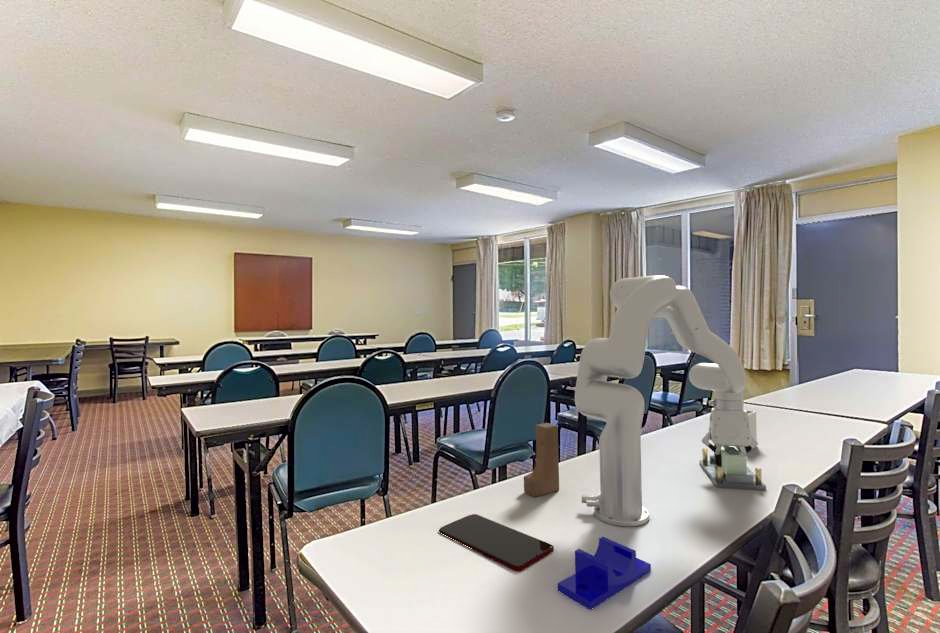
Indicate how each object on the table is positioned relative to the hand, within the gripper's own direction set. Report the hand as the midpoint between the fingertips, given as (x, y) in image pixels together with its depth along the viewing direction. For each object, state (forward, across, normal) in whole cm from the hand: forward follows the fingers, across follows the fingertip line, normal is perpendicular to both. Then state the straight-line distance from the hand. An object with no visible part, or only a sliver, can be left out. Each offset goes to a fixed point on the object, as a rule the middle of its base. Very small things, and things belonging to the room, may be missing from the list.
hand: (729, 466), depth 139 cm
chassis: (+3, 0, 0) cm, 3 cm away
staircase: (+3, +11, +31) cm, 33 cm away
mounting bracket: (+4, -37, -61) cm, 71 cm away
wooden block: (+3, -52, -20) cm, 56 cm away
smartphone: (+4, -60, -49) cm, 78 cm away
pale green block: (+1, 0, 0) cm, 1 cm away
